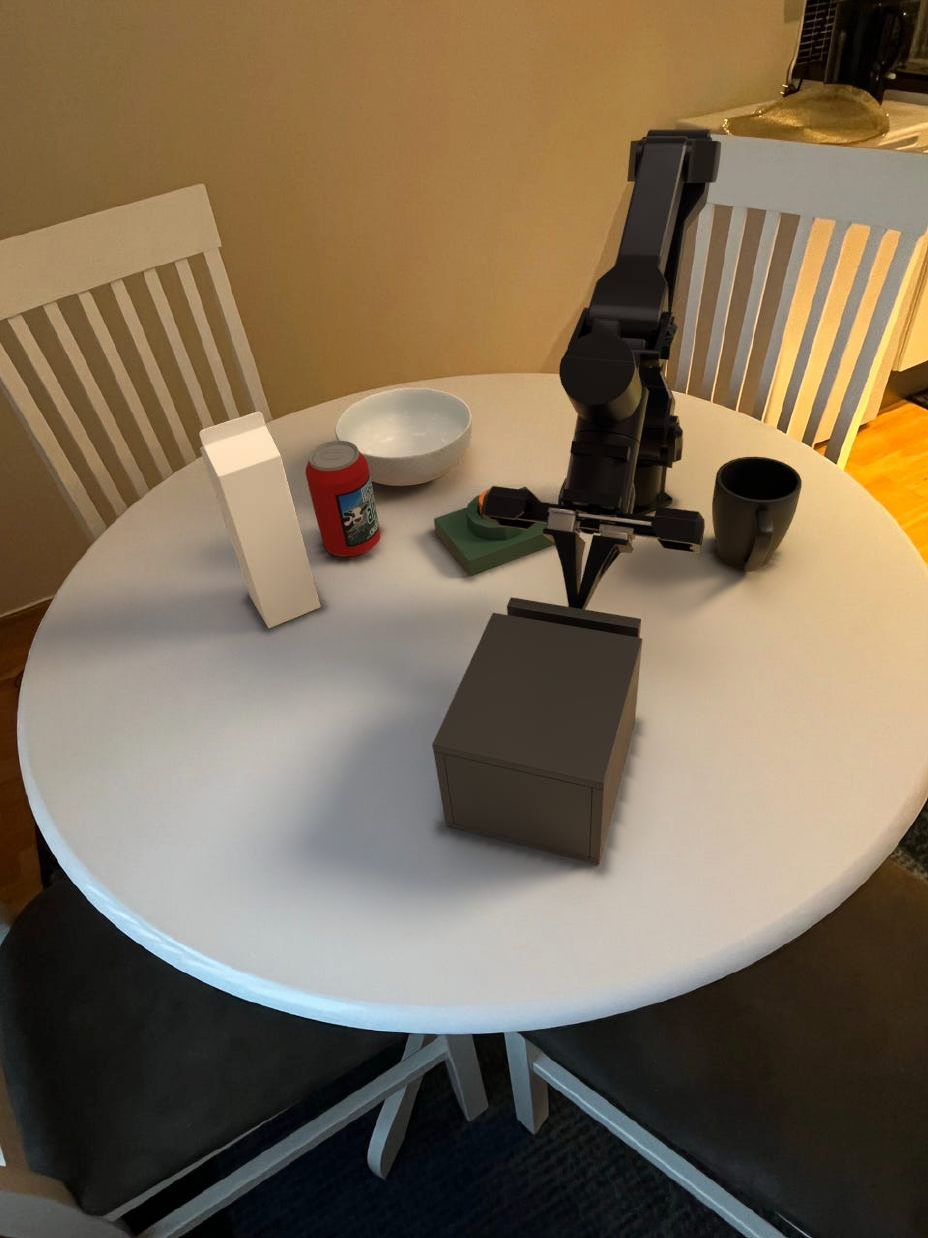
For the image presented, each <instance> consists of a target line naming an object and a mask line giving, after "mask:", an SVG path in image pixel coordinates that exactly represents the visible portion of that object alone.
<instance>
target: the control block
mask: <svg viewBox="0 0 928 1238" xmlns="http://www.w3.org/2000/svg"><path fill="white" fill-rule="evenodd" d="M519 489H521V490H529V491H531V490H530V489H529V488H528V487H527V486H522V487H520V488H519ZM480 495H481V494H478V495H476V496H475V497H474V498H473V499H472V500H471V501H469V502H468V503H467V505H466V507H462V508H460V509H457V510H455V511H451V512H448V513H446V514H443V515H440V516H438V517H435V518H433V522H434V530H435V535H436V536H437V537H438V538H439V540H440V541H441V542H442V543H443V545H444V546H445V547H446V549H447V550H448V551H449V552H450V553H451V554H452V556H453V557H454V558H455V560H456V561H457V562H458V563H459V565H460V566H461V567H462V568H463V570H464V571H465V572H466V574H467V575H468V576H469V577H472V576H475V575H477V574H480V573H482V572H485V571H488V570H490V569H493V568H496V567H499V566H501V565H504V564H506V563H509V562H512V561H514V560H517V559H520V558H522V557H525V556H528V555H530V554H533V553H535V552H538V551H540V550H543V549H546V548H548V547H551V546H555V543H554V542H552V541H551V540H549V539H548V538H547V537H545V536H544V535H543V529H544V528H546V527H547V525H546V523H537V524H536V525H534V526H533V527H532V528H530V529H529V530H525V529H518V528H511V527H504V526H499V525H495V524H493V523H492V522H490V521H489V520H487V519H484V518H483V517H482V516H481V515H480V508H479V497H480ZM540 502H542V501H541V500H540Z"/></svg>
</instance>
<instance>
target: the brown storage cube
mask: <svg viewBox="0 0 928 1238" xmlns="http://www.w3.org/2000/svg"><path fill="white" fill-rule="evenodd" d="M642 649H643V638H642V637H640V638H638V637H632V636H626V635H620V634H615V633H609V632H603V631H597V630H591V629H586V628H580V627H574V626H568V625H562V624H557V623H551V622H545V621H539V620H533V619H527V618H522V617H516V616H510V615H507V614H504V613H498V612H492V613H491V616H490V618H489V620H488V622H487V623H486V626H485V629H484V630H483V633H482V635H481V637H480V639H479V642H478V644H477V646H476V648H475V650H474V652H473V655H472V657H471V659H470V661H469V664H468V665H467V668H466V670H465V672H464V674H463V677H462V679H461V681H460V683H459V685H458V687H457V690H456V692H455V694H454V695H453V698H452V699H451V702H450V705H449V707H448V709H447V711H446V713H445V716H444V718H443V720H442V721H441V724H440V727H439V728H438V731H437V733H436V736H435V738H434V740H433V742H432V751H433V757H434V763H435V764H434V765H435V769H436V776H437V781H438V787H439V794H440V800H441V804H442V810H443V817H444V822H445V826H446V827H448V828H452V829H457V830H459V831H463V832H467V833H472V834H476V835H480V836H482V837H483V836H484V837H488V838H492V839H495V840H500V841H503V842H507V843H510V844H511V843H512V844H515V845H519V846H523V847H527V848H531V849H534V850H538V851H543V852H546V853H550V854H554V855H557V856H562V857H566V858H569V859H573V860H577V861H582V862H585V863H589V864H594V865H597V866H599V865H600V864H601V860H602V856H603V853H604V849H605V844H606V841H607V836H608V832H609V828H610V825H611V822H612V821H611V820H612V816H613V812H614V808H615V804H616V800H617V797H618V792H619V788H620V785H621V784H620V783H621V780H622V777H623V773H624V769H625V764H626V760H627V757H628V752H629V748H630V744H631V740H632V736H633V733H634V732H633V731H634V729H635V723H636V713H637V704H638V691H639V680H640V669H641V659H642V658H641V657H642Z"/></svg>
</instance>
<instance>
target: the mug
mask: <svg viewBox="0 0 928 1238" xmlns="http://www.w3.org/2000/svg"><path fill="white" fill-rule="evenodd" d="M802 484H803V482H802V478H801V476H800V474H799V472H798V471H797V470H796V469H795V468H794V467H792V466H791V465H789V464H787V463H785V462H784V461H780V460H777V459H774V458H770V457H764V456H744V457H743V456H742V457H737V458H734V459H731V460H729V461H727V462H725V463H724V464H722V465H721V466H720V467H719V468H718V470H717V472H716V474H715V481H714V486H713V487H714V488H713V493H712V502H711V514H712V526H713V533H714V538H715V543H716V546H717V547H716V548H717V554H718V556H719V558H720V559H721V560H722V561H723V562H724V563H726V564H727V565H730V566H732V567H734V568H738V569H743V570H744V571H745V572H749V573H753V572H756V571H758V570H759V569H760V568H761V567H764V566H765V565H767V564H768V563H769V562H770V561H771V560H772V557H773V556H774V554H775V553H776V551H777V549H778V548H779V546H780V545H781V543H782V542H783V540H784V538H785V536H786V534H787V533H788V531H789V528H790V526H791V524H792V521H793V519H794V517H795V514H796V512H797V509H798V508H797V507H798V503H799V500H800V495H801V490H802Z"/></svg>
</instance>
